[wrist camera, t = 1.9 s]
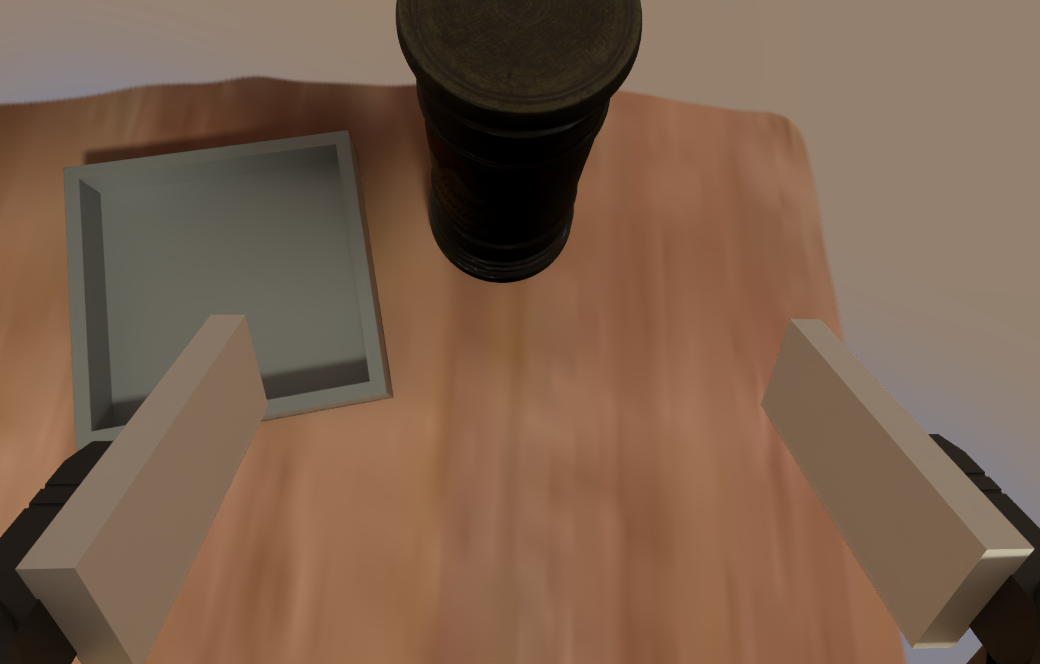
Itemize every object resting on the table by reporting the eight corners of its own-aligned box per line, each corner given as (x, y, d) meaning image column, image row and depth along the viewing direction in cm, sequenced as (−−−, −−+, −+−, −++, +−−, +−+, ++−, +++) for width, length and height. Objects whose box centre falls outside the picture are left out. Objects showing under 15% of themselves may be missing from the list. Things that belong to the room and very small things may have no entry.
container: (477, 128, 38) (475, -153, 20) (595, 197, 37) (698, -29, 20) (401, 237, 36) (327, 32, 18) (525, 311, 35) (570, 173, 18)
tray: (106, 449, 32) (75, 449, 30) (92, 187, 35) (63, 167, 33) (393, 397, 34) (386, 393, 31) (356, 151, 37) (347, 130, 34)
